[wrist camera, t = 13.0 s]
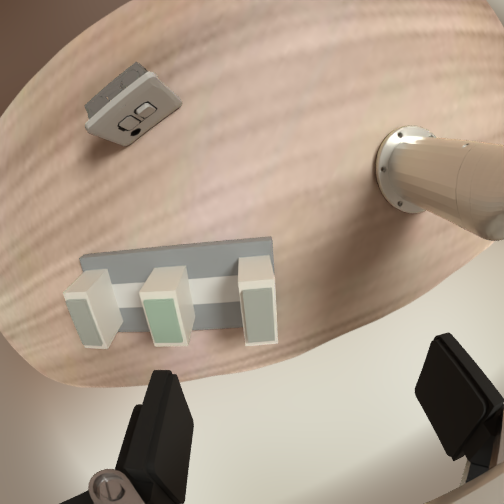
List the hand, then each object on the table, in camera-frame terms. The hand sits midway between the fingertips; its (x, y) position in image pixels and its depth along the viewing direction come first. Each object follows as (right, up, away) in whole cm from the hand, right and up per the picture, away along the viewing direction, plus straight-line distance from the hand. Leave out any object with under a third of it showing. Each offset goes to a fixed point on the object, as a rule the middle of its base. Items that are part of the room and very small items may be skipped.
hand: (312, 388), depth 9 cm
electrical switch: (-16, +23, +24) cm, 36 cm away
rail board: (-13, -1, +32) cm, 35 cm away
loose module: (-13, -1, +31) cm, 33 cm away
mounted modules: (-13, -1, +31) cm, 33 cm away
